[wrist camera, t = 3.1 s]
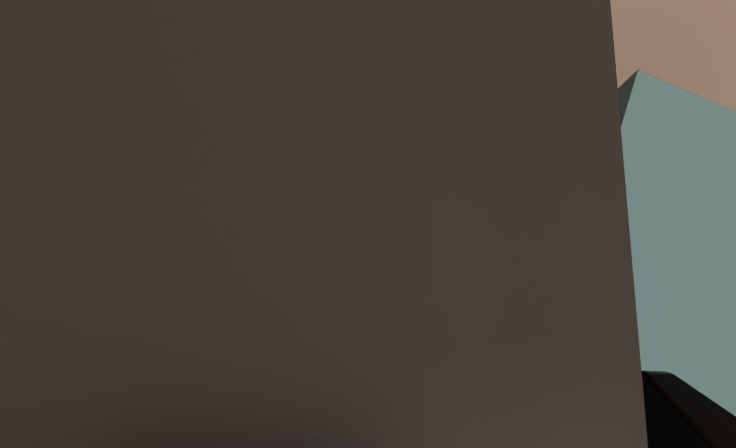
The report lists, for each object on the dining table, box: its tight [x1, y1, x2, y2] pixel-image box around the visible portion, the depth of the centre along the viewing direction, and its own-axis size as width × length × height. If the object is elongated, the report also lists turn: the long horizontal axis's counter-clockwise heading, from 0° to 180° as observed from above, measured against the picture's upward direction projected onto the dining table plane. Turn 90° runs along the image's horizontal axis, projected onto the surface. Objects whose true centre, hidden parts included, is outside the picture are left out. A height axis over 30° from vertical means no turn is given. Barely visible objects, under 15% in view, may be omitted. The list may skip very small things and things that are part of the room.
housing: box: [0, 0, 648, 448], centre depth 10 cm, size 5×5×12 cm
